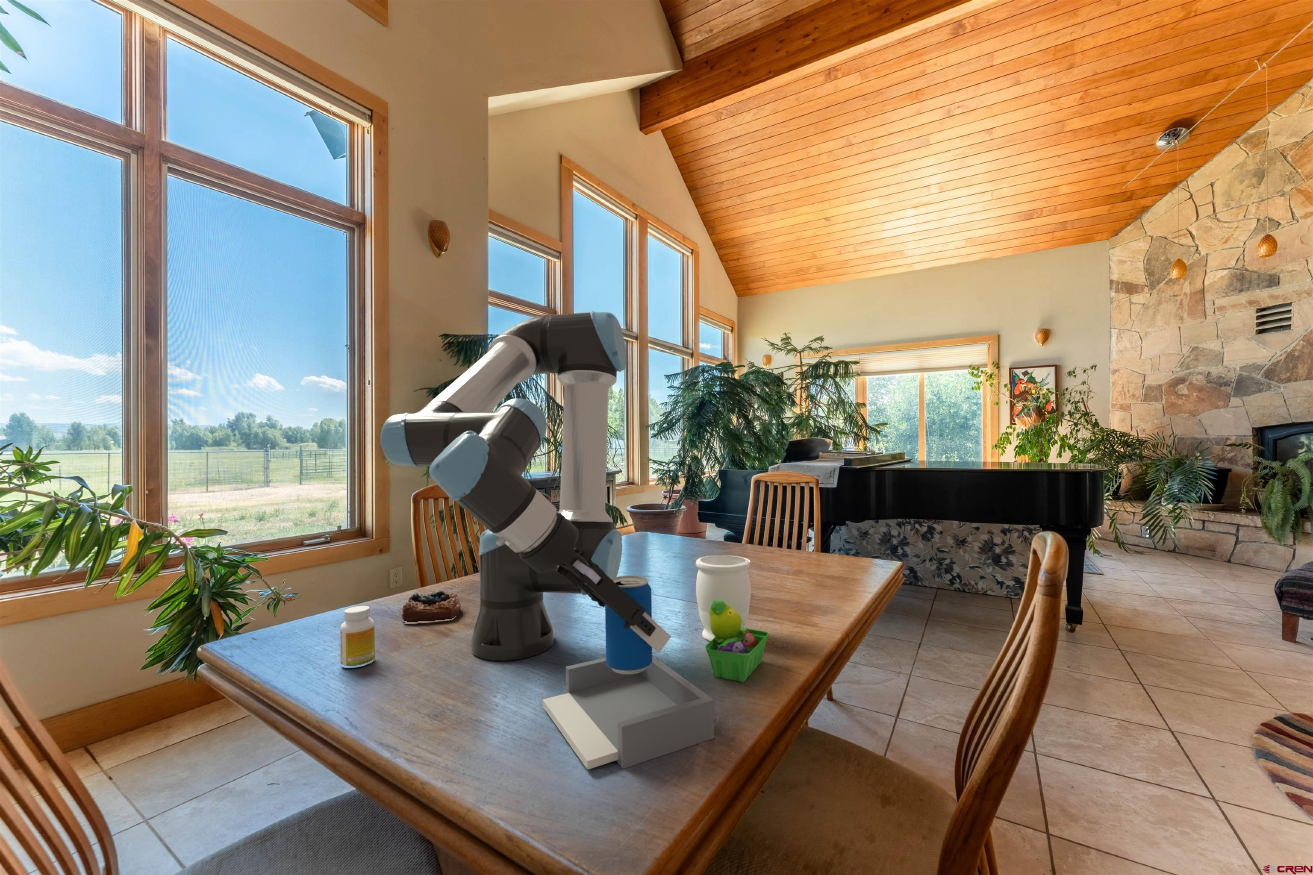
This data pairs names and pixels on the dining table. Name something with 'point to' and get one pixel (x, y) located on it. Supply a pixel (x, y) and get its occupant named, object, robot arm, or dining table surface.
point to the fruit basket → (733, 644)
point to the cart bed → (629, 713)
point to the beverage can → (626, 645)
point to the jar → (722, 587)
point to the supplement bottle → (357, 637)
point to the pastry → (431, 607)
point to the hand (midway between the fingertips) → (651, 635)
